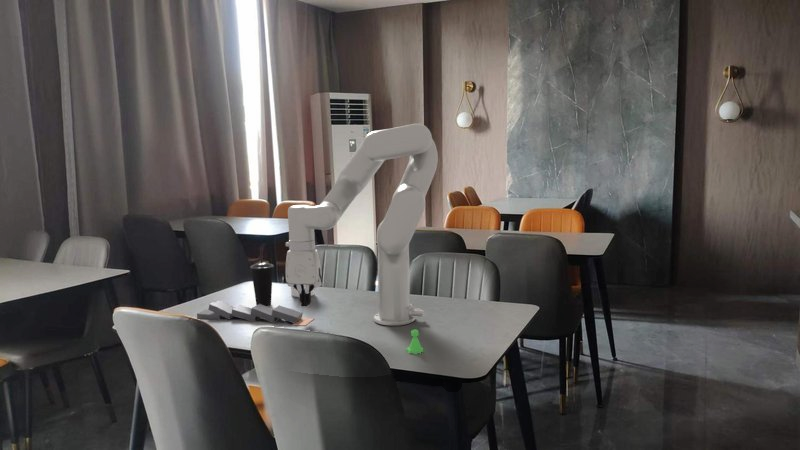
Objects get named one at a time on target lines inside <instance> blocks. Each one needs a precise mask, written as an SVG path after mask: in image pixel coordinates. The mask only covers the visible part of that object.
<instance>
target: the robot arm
mask: <svg viewBox="0 0 800 450" xmlns="http://www.w3.org/2000/svg"><path fill="white" fill-rule="evenodd" d="M408 156H409V159H408V164H407V166H406V168H405V170H404V173H403V175H402V178H401V180H400V182H399V184H398V185H397V188H396V189H395V191H394V193H393V195H392V198H391V202H390V205H389V206H388V209H387V212H386V214H385V215H384V217H383V220H382V221H381V222H380V223H379V224H378V226H377V230H376V242H377V244H376V245H377V246H376V247H377V248H376V249H377V287H378V288H377V290H378V291H377V293H378V313H375V314H374V316H373V321H374V322H375V323H376V324H378V325H383V326H389V327H390V326H392V327H393V326H394V327H395V326H403V325H408V324H412V323H413V322H414V321H415V320H416V317H419V318H420V317H421V318H422V317H424V315H425V313H424V312H425V311H424V310H423V309H421V308H415V307H413V304H412V303H411V302H410V299H411V297H410V293H411V292H410V290H411V289H410V242H411V240H412V238H413V236H414V234H415V232H416V230H417V227H418V225H419V223H420V221H421V218H422V217H423V214H424V210H425V207H426V199H425V198H426V196H427V193H428V191H429V189H430V186H431V184H432V181H433V179H434V176H435V174H436V172H437V168H438V163H439V155H438V149H437V145H436V142H435V140H434V139H433V135H432V132H431V130H430V129H429V128H428V127H427V125H424V124H422V123H411V124H406V125H401V126H397V127H392V128H386V129H385V128H384V129H379V130H378V129H377V130H373V131H371V132H369V133H368V134H366V135H365V137H364V138H363V141H362V142H361V144H359V146H358V147H357V149H356V150H355V152H354V153H353V154H352V156H351V157H350V159H349V160H347V163H346V164H345V165H344V166H343V168H342V170H341V171H340V172H339V175H338V178H337V179H336V182H335V183H334V184H333V186H332V187H331V189H330V191H328V193H327V195H326V196H325V197H324V199H323V200H322V201H321V202H320V203H319V205H315V206H314V205H313V206H312V205H309V204H295V205H291V206H289V207H288V209H287V220H288V221H287V222H288V223H287V224H288V241H286V242H285V247H287V248H288V249H290V250H287V252H286V259H285V281H286V283H287V285H286V286H287V287H290V288H291V287H294V288H295V289H296V290H297V291H298V293H299V294H300V298H299V303H300V306H301V307H304V308H305V307H309V306H310V305H311V303H312V296H311V291H312V290H313V289H314V290H315V289H316V288H320V287H322V286H323V285H322V281H321V280H322V268H321V267H322V266H321V260H320V256H319V252H318V249H316V239H315V230H322V231H328V230H331V229H333V228H334V227H336V225H337V223H338V222H339V220H340V219H341V218H342V216H343V215H344V213H345V212H346V210H347V209H348V208H349V206H350V205H351V204H352V203H353V201H354V200H355V198H357V196H358V195H359V194H360V193H362V191H364V189H365V188H366V187H367V186H368V184H369V182H370V181H371V180H372V179H373V177H374V176H375V174H376V173H377V172H378V170H379V169H380V168H381V166H382V165H383V163H384V162H385V161H387V160H391V159H392V160H394V159H398V158H403V157H408ZM304 285H306V286H305V288H304Z"/></svg>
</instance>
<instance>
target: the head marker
mask: <svg viewBox="0 0 800 450" xmlns="http://www.w3.org/2000/svg"><path fill="white" fill-rule="evenodd" d="M312 321H314V318H310V317H309V318H307V317H302V319H301V320H299V321H298V322H297V323H296V324H295V323H292V326H301V327H306V326H307V325H308V324H310V323H311V322H312Z"/></svg>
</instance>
